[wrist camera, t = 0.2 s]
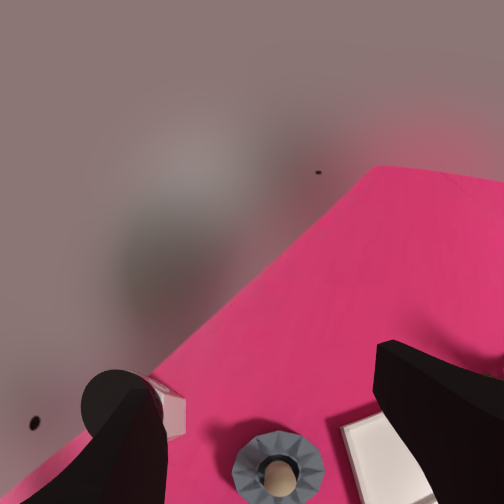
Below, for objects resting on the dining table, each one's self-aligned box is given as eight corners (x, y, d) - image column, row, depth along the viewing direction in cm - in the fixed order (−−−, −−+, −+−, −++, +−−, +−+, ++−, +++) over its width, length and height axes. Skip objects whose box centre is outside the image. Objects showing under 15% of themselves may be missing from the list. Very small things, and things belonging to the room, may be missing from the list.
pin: (293, 476, 31) (299, 492, 24) (268, 482, 31) (268, 499, 23) (287, 455, 33) (291, 465, 25) (262, 461, 32) (260, 473, 25)
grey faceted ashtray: (328, 491, 30) (332, 497, 27) (247, 512, 29) (245, 518, 27) (307, 421, 35) (310, 421, 32) (226, 441, 34) (223, 443, 31)
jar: (202, 407, 36) (175, 402, 26) (170, 457, 33) (132, 470, 22) (145, 369, 39) (103, 350, 28) (115, 418, 35) (64, 413, 25)
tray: (454, 487, 27) (462, 489, 25) (368, 530, 26) (373, 535, 24) (428, 389, 35) (436, 387, 33) (339, 426, 34) (343, 427, 32)
